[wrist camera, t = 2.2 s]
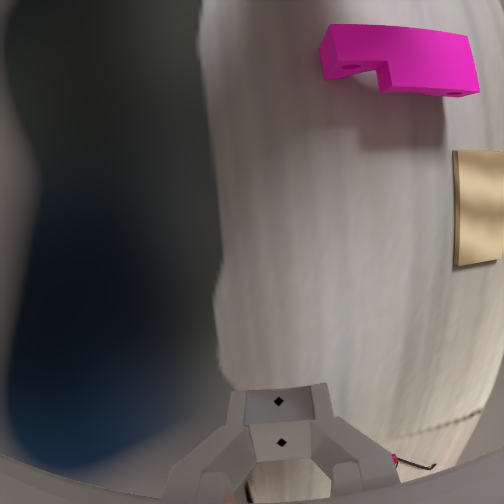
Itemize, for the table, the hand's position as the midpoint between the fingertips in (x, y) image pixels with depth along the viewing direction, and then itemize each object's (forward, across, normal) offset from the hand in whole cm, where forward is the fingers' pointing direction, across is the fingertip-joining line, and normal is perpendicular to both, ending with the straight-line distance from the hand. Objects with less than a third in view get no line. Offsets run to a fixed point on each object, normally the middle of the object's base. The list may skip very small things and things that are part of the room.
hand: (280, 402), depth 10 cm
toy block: (+20, -15, -16) cm, 30 cm away
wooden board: (+27, -26, 0) cm, 38 cm away
